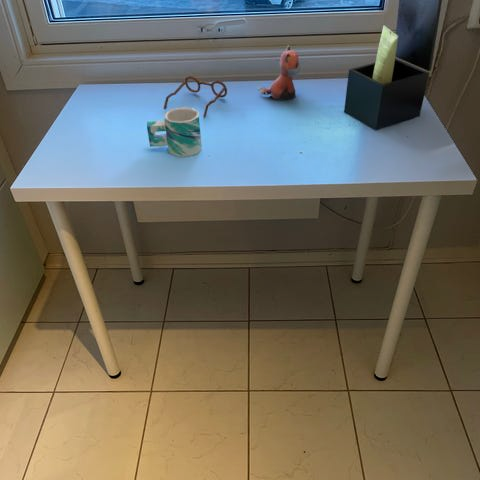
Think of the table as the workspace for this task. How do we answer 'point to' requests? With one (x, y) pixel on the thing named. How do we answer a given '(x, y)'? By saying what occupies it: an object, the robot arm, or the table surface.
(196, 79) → the glasses
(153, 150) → the table surface
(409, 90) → the bin
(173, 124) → the mug
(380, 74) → the tube
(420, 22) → the bin lid
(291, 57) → the stuffed fox
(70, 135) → the table surface
